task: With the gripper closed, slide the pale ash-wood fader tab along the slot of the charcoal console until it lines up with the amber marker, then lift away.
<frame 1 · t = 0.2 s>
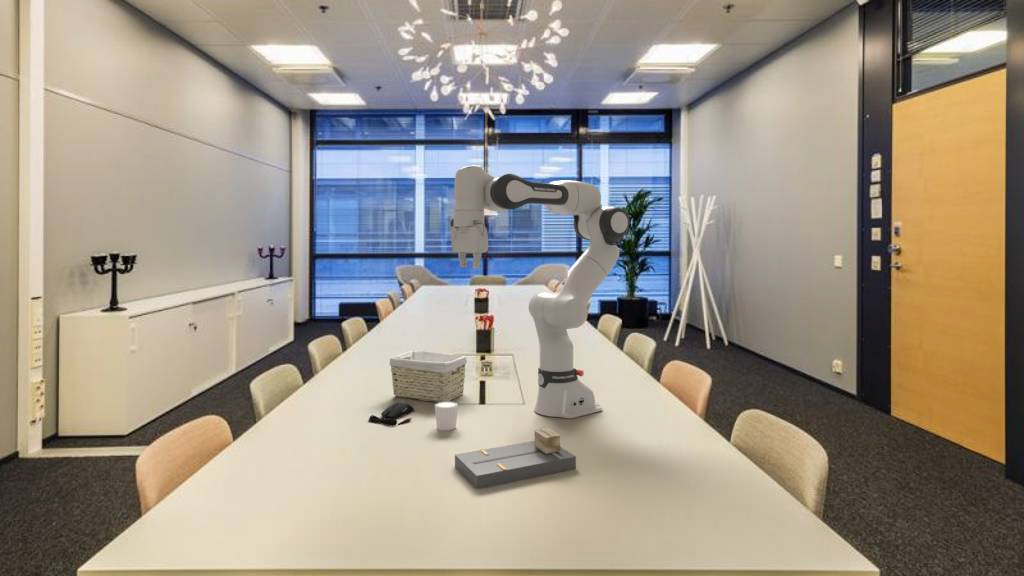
hand: (469, 267, 164), 48 cm above the table, tool pointing down, fingers open, 8 cm apart
fader console: (515, 467, 135), on the table
fader tab: (547, 440, 138), point 5 cm above the table, slide at 0.0 cm
white cup: (446, 428, 165), on the table
storage basket: (429, 396, 200), on the table
computer mouse: (399, 419, 175), on the table
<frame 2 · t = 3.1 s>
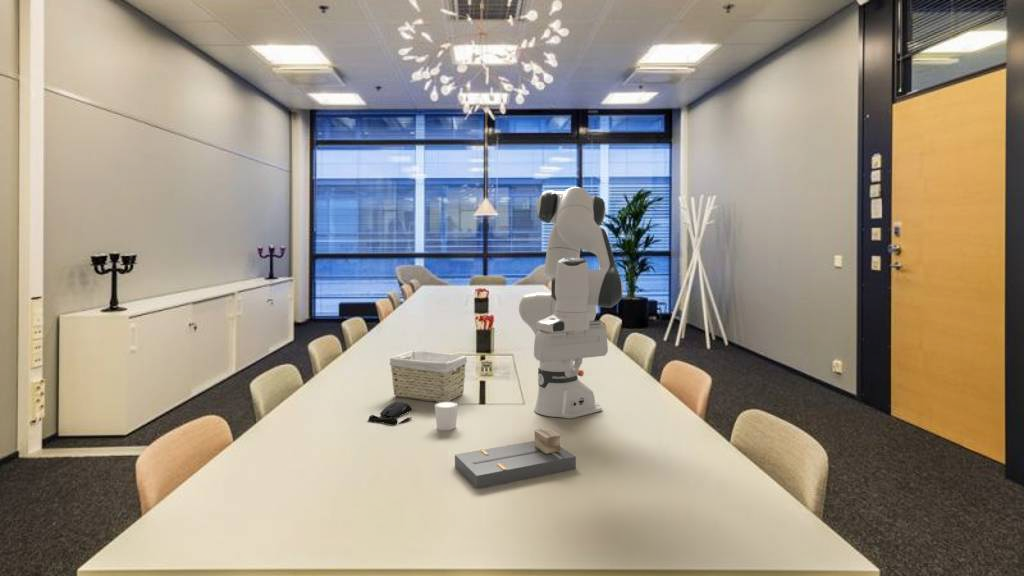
hand: (571, 375, 140), 21 cm above the table, tool pointing down, fingers closed
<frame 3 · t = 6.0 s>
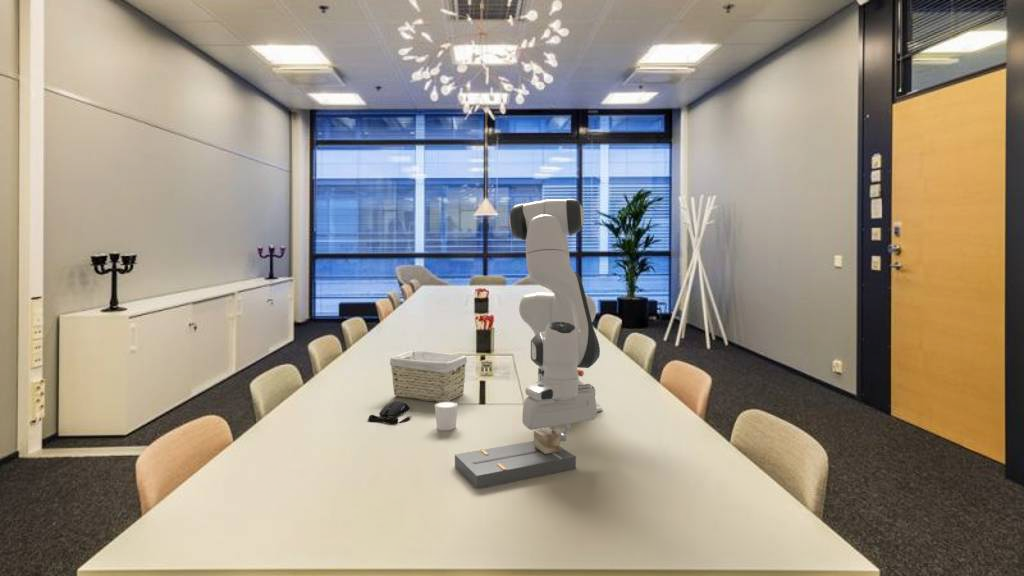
hand: (560, 441, 140), 5 cm above the table, tool pointing down, fingers closed
fader tab: (546, 440, 138), point 5 cm above the table, slide at 0.2 cm, touching gripper
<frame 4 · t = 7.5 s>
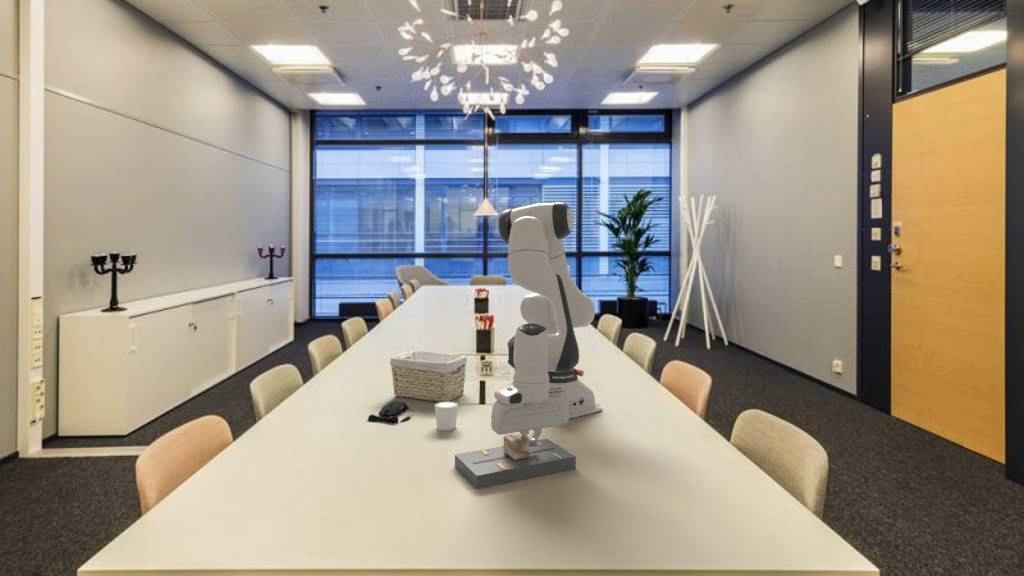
hand: (530, 446, 136), 5 cm above the table, tool pointing down, fingers closed
fader tab: (516, 445, 134), point 5 cm above the table, slide at 8.7 cm, touching gripper
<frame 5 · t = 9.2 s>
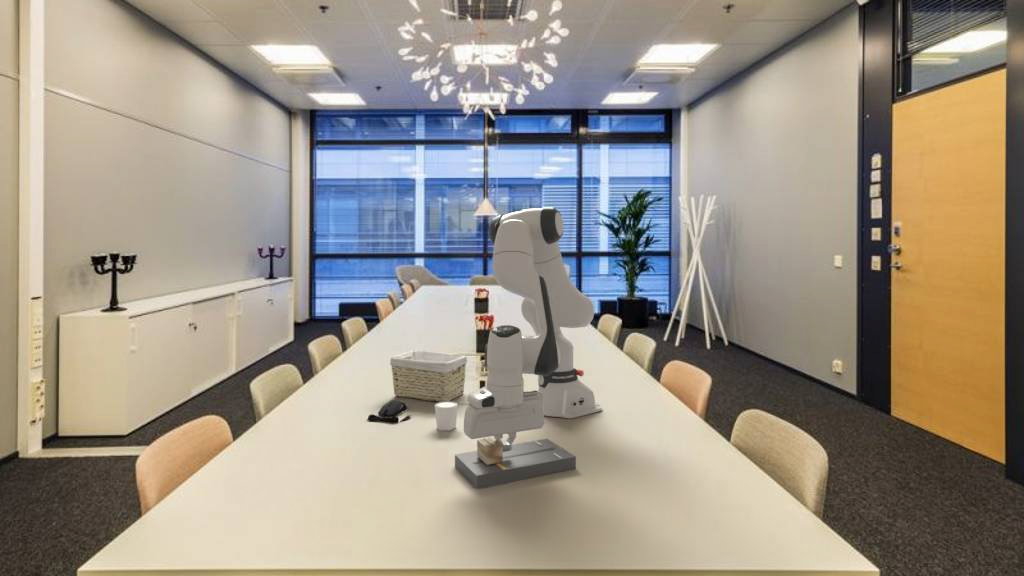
hand: (504, 450, 133), 5 cm above the table, tool pointing down, fingers closed
fader tab: (489, 450, 131), point 5 cm above the table, slide at 15.8 cm, touching gripper
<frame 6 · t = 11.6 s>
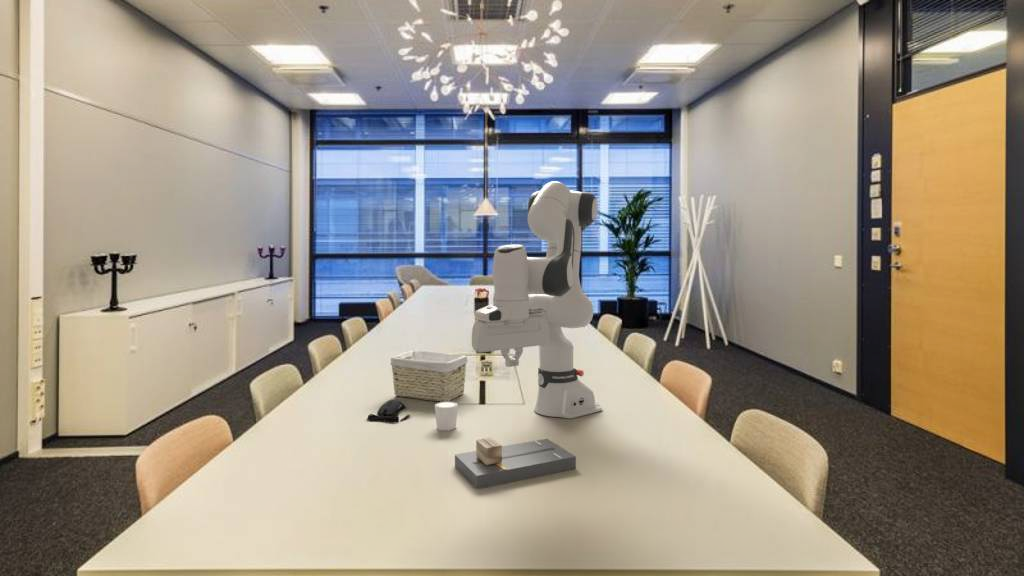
hand: (512, 365, 137), 24 cm above the table, tool pointing down, fingers closed
fader tab: (488, 450, 131), point 5 cm above the table, slide at 16.0 cm
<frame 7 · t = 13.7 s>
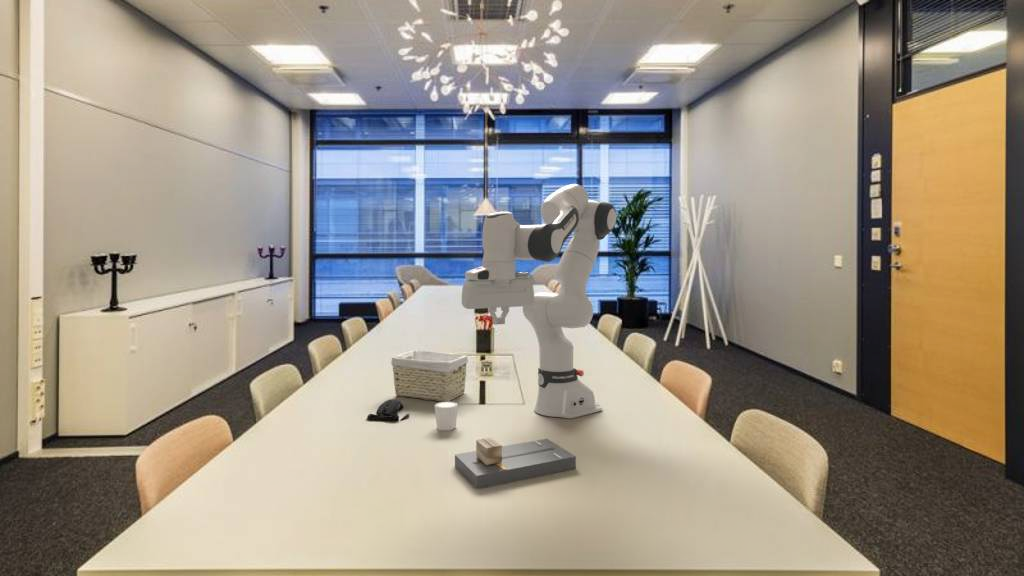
hand: (498, 324, 148), 33 cm above the table, tool pointing down, fingers closed
at the end: fader tab slide at 16.0 cm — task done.
